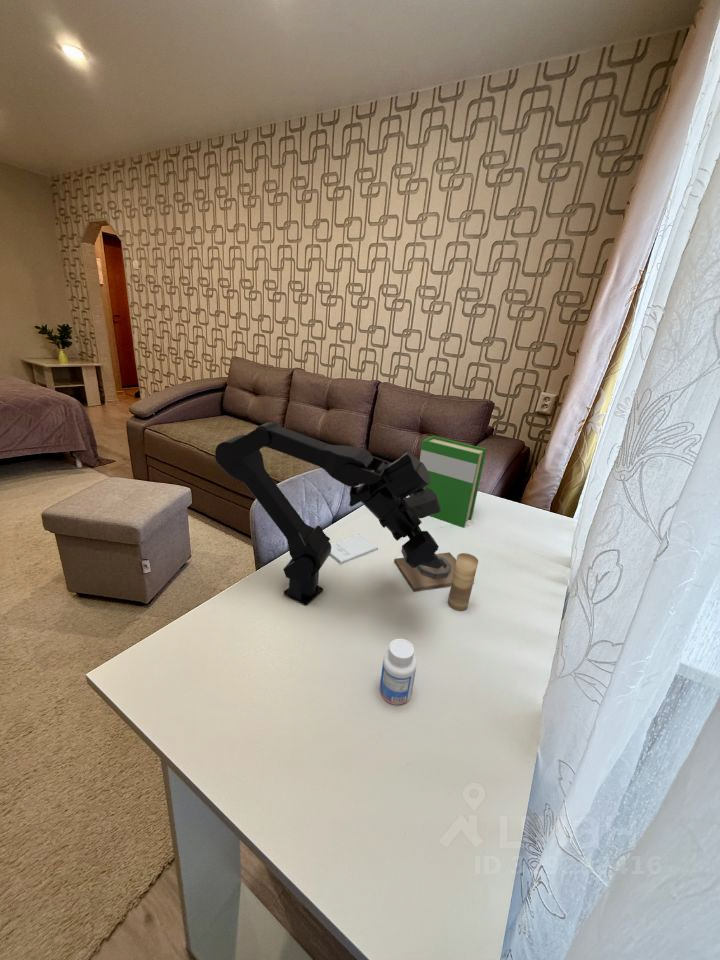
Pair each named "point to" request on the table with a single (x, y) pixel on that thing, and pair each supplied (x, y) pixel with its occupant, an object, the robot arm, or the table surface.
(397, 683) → the pill bottle
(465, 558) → the light brown tall cylinder
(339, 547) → the external hard drive
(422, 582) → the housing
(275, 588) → the table surface
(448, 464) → the hardback book
